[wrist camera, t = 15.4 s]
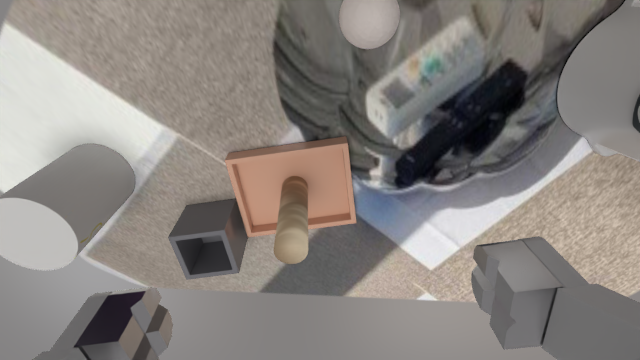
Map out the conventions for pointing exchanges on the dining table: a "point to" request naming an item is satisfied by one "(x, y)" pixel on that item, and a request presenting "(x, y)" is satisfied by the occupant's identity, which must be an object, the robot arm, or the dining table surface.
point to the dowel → (292, 222)
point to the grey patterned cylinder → (63, 206)
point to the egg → (369, 21)
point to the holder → (209, 239)
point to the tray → (285, 161)
